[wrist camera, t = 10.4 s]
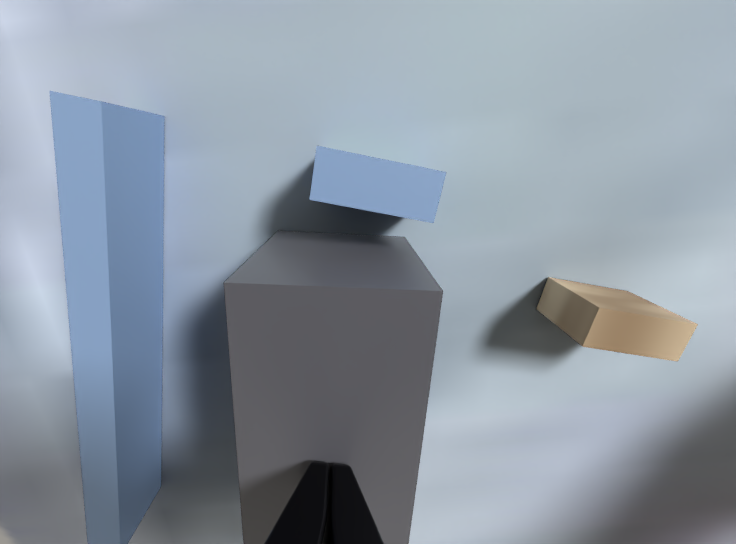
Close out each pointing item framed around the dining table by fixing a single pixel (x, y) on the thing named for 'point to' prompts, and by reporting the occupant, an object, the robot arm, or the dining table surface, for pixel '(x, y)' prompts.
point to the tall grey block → (331, 370)
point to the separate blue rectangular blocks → (152, 284)
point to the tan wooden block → (614, 320)
